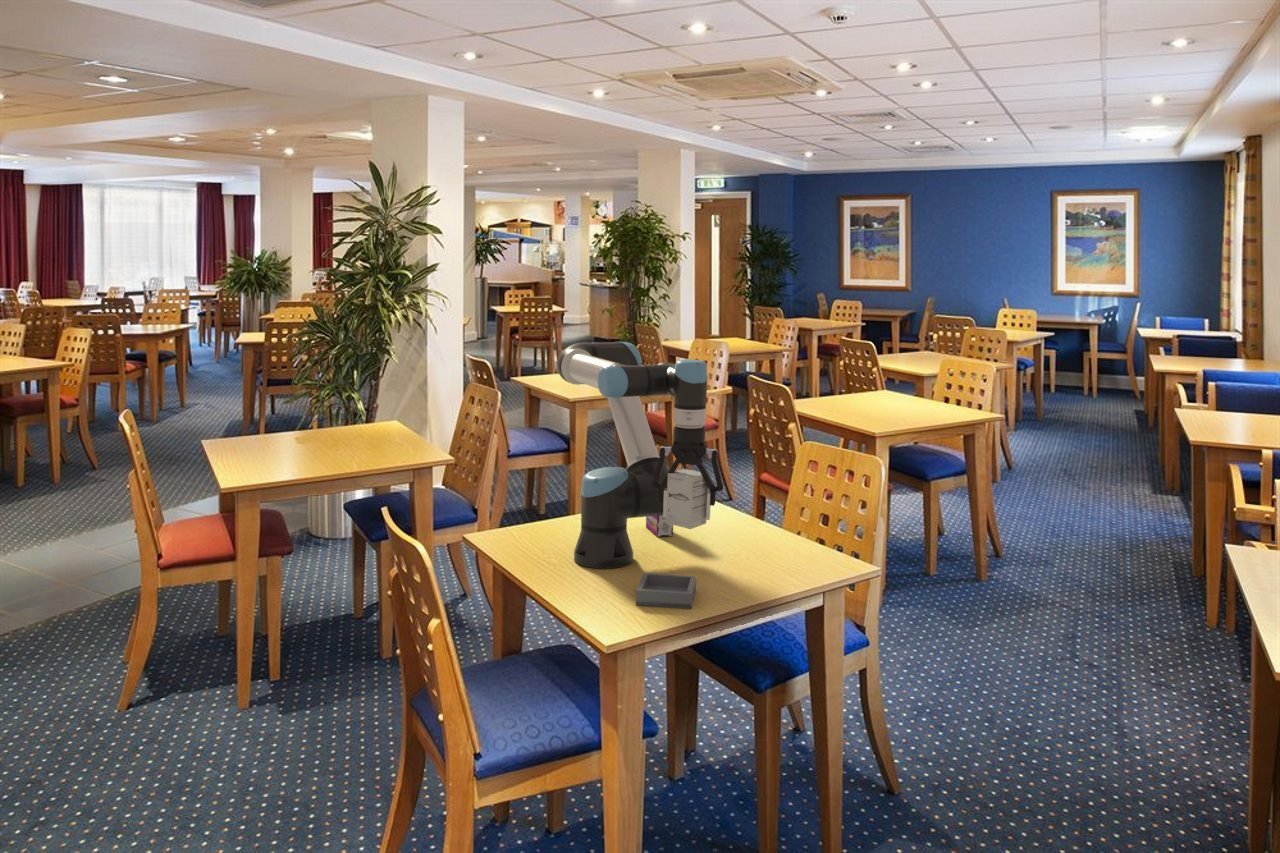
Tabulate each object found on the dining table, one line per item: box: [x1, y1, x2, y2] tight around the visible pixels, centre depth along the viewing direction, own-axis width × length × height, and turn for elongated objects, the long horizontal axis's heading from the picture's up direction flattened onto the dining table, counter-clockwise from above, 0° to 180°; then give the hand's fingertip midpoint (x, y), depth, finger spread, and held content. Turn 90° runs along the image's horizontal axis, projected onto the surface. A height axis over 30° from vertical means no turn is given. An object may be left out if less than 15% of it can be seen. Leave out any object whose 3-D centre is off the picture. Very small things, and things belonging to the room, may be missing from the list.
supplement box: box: [666, 468, 709, 530], centre depth 225 cm, size 7×7×13 cm
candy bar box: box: [645, 515, 674, 538], centre depth 266 cm, size 11×5×16 cm, turn 17°
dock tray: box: [635, 572, 697, 610], centre depth 214 cm, size 12×12×4 cm
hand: (686, 517), depth 226 cm, fingers closed on supplement box, 10 cm apart
